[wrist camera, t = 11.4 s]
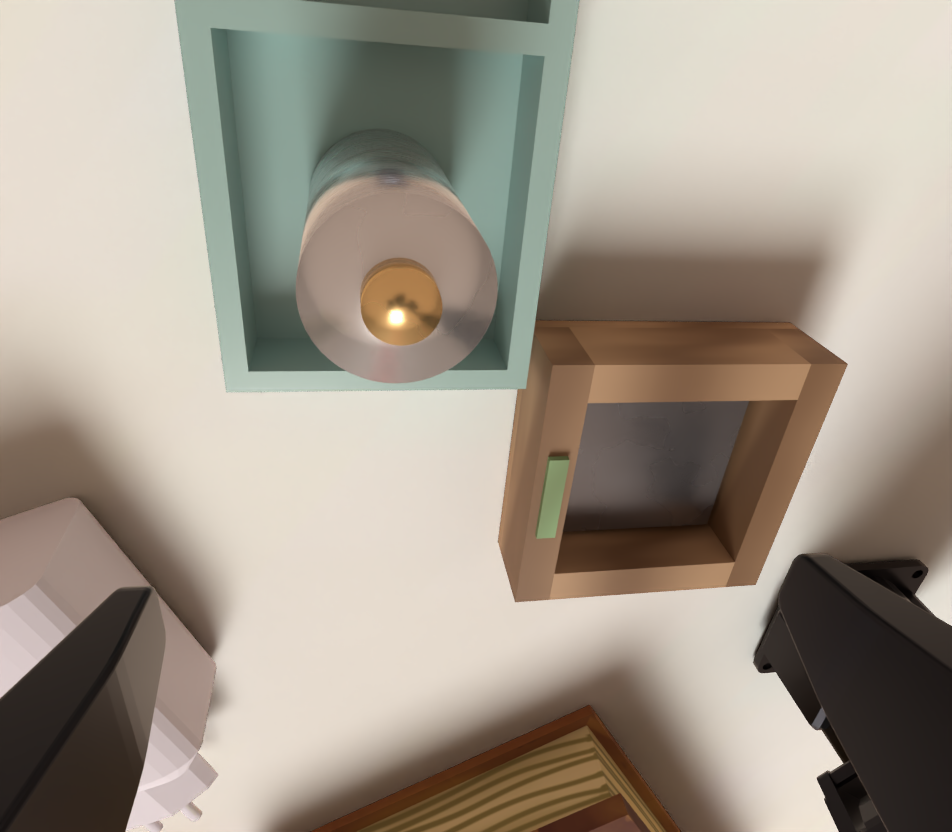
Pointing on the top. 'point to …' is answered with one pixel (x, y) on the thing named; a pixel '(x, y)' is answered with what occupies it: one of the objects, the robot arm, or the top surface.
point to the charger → (66, 605)
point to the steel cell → (391, 262)
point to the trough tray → (359, 108)
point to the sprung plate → (651, 463)
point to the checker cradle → (659, 380)
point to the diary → (526, 789)
